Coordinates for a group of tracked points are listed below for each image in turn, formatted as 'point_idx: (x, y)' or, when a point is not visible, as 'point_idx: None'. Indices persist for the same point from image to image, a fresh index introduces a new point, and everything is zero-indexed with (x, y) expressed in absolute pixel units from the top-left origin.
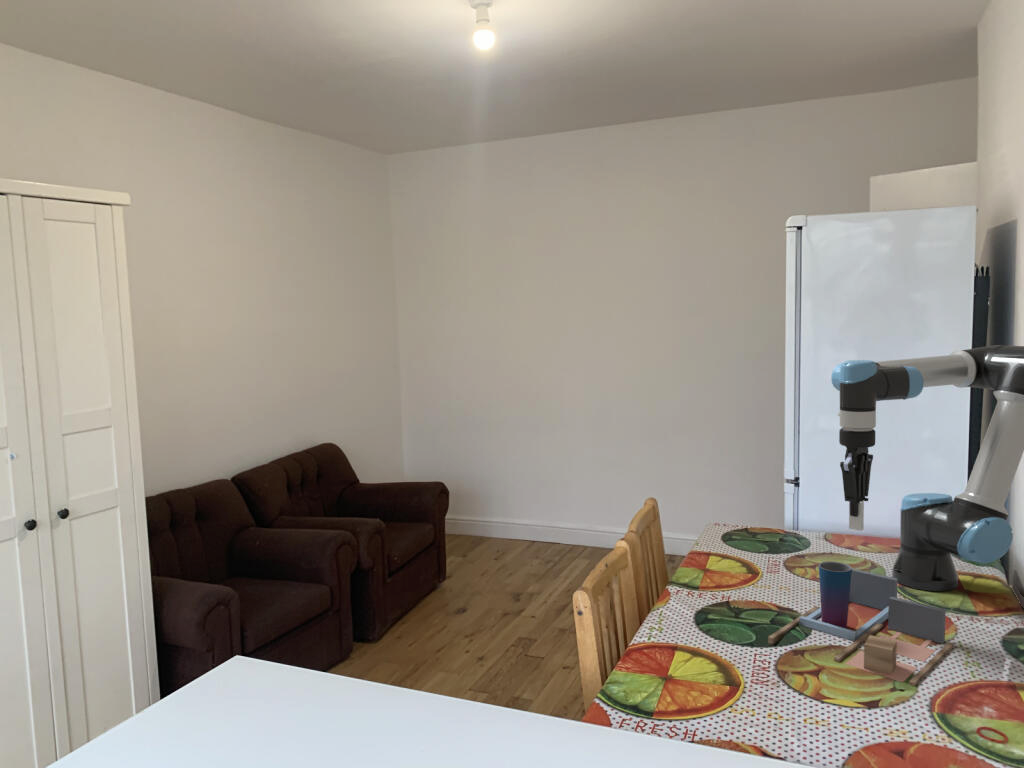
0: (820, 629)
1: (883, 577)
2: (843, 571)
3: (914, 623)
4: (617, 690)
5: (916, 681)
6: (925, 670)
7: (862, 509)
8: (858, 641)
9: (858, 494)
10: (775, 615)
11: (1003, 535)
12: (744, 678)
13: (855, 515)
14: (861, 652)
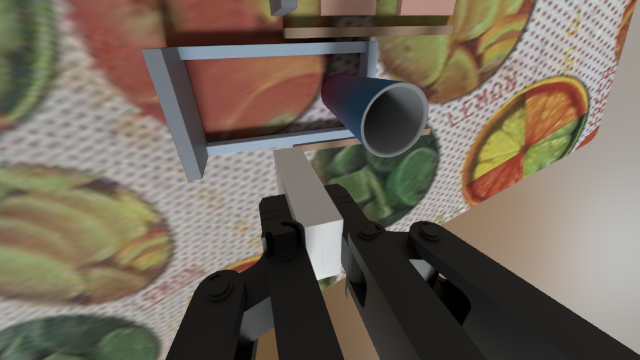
0: None
1: (170, 83)
2: (420, 89)
3: None
4: (552, 158)
5: None
6: None
7: (307, 196)
8: (382, 30)
9: (412, 267)
10: (340, 175)
11: None
12: (508, 98)
13: (342, 189)
14: (406, 11)
